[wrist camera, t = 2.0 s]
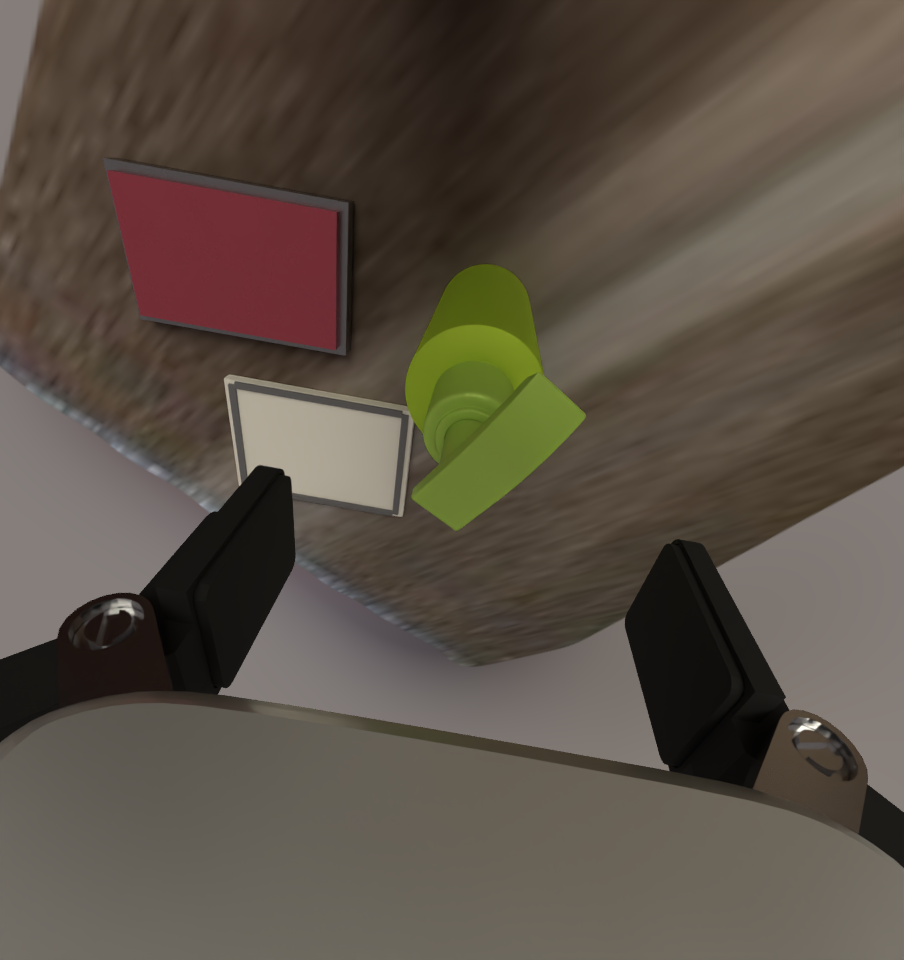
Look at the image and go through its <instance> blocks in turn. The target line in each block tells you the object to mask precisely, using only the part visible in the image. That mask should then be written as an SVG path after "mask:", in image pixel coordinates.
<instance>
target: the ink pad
mask: <svg viewBox="0 0 904 960" xmlns="http://www.w3.org/2000/svg"><path fill="white" fill-rule="evenodd" d="M103 161H104V166H105V170H106V174H107V179H108V183H109V187H110V191H111V196H112V200H113V204H114V208H115V213H116V217H117V221H118V226H119V230H120V234H121V238H122V243H123V247H124V251H125V255H126V260H127V264H128V268H129V272H130V277H131V281H132V285H133V290H134V294H135V298H136V302H137V307H138V311H139V315H140V319H143V320H148V321H154V322H160V323H165V324H171V325H176V326H182V327H188V328H193V329H199V330H204V331H210V332H215V333H221V334H227V335H232V336H238V337H243V338H249V339H255V340H260V341H266V342H271V343H277V344H282V345H288V346H294V347H299V348H305V349H310V350H316V351H322V352H327V353H333V354H338V355H344V356H346V355H347V354H348V352H349V351H350V350H351V310H352V269H353V228H354V201H350V200H344V199H339V198H333V197H328V196H322V195H317V194H311V193H306V192H301V191H295V190H290V189H284V188H279V187H273V186H268V185H262V184H257V183H251V182H246V181H240V180H235V179H229V178H224V177H218V176H213V175H208V174H202V173H197V172H191V171H186V170H180V169H175V168H169V167H164V166H158V165H153V164H147V163H142V162H136V161H131V160H125V159H120V158H103Z"/></svg>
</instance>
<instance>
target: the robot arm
mask: <svg viewBox="0 0 904 960" xmlns="http://www.w3.org/2000/svg"><path fill="white" fill-rule="evenodd" d="M294 562H295V538H294V519H293V501H292V482H291V478H290V476H286V475H285V473H284V470H283V469H280V468H274V467H269V466H263V465H258V466H256V467H255V468H254V470H253V471H252V472H251V473H250V474H249V476H248V477H247V478H246V479H245V480H244V481H243V483H242V484H241V485H240V486H239V487H238V489H237V490H236V491H235V492H234V493H233V495H232V496H231V497H230V498H229V499H228V500H227V502H226V503H225V504H224V505H223V506H222V508H221V509H220V510H219V511H218V512H212V513H210V514H209V515H208V516H207V517H206V518H205V519H204V520H203V521H202V522H201V523H200V524H199V526H198V527H197V528H196V529H195V530H194V532H193V533H192V534H191V535H190V536H189V537H188V538H187V540H186V541H185V542H184V543H183V544H182V545H181V546H180V548H179V549H178V550H177V551H176V552H175V553H174V555H173V556H172V557H171V558H170V559H169V560H168V562H167V563H166V564H165V565H164V566H163V567H162V568H161V570H160V571H159V572H158V573H157V574H156V575H155V577H154V578H153V579H152V580H151V581H150V583H149V584H148V585H147V586H146V587H145V588H144V589H143V590H142V592H141V593H140V594H139V595H137V594H133V593H115V594H110V595H105V596H102V597H99V598H96V599H94V600H91V601H89V602H87V603H86V604H84V605H82V606H81V607H79V608H77V609H76V610H75V611H74V612H73V613H72V614H70V615H69V616H68V617H67V618H66V619H65V621H64V622H63V624H62V625H61V627H60V628H59V632H58V636H57V639H55V640H52V641H49V642H46V643H44V644H41V645H38V646H35V647H33V648H30V649H27V650H25V651H22V652H19V653H17V654H14V655H11V656H9V657H6V658H3V659H0V960H904V812H902V811H901V810H900V809H899V808H897V807H896V806H895V805H893V804H892V803H891V802H889V801H888V800H887V799H886V798H884V797H883V796H882V795H880V794H879V793H878V792H877V791H875V790H874V789H873V788H871V787H870V786H869V785H868V784H867V783H868V774H867V768H866V765H865V763H864V761H863V758H862V756H861V755H860V753H859V752H858V751H857V749H856V748H855V746H854V745H853V744H852V743H851V741H850V740H849V739H847V737H846V736H845V735H844V734H843V733H842V732H841V731H839V730H838V729H837V728H836V727H834V726H833V725H832V724H831V723H829V722H828V721H826V720H824V719H822V718H821V717H819V716H817V715H815V714H812V713H809V712H806V711H803V710H790V711H789V709H788V707H787V705H786V703H785V701H784V699H785V698H786V697H785V695H784V693H783V691H782V689H781V688H780V686H779V684H778V682H777V680H776V678H775V677H774V675H773V673H772V671H771V669H770V667H769V665H768V663H767V662H766V660H765V658H764V656H763V654H762V652H761V651H760V649H759V647H758V645H757V643H756V641H755V639H754V638H753V636H752V634H751V632H750V630H749V629H748V627H747V625H746V623H745V621H744V619H743V617H742V615H741V614H740V612H739V610H738V608H737V606H736V604H735V602H734V601H733V599H732V597H731V595H730V593H729V591H728V590H727V588H726V586H725V584H724V582H723V580H722V578H721V577H720V575H719V573H718V571H717V569H716V567H715V566H714V564H713V562H712V560H711V558H710V556H709V554H708V553H707V551H706V549H705V547H704V546H703V545H702V544H700V543H696V542H691V541H685V540H679V539H677V540H674V541H673V542H672V543H671V544H666V545H665V546H664V547H663V549H662V551H661V553H660V555H659V556H658V558H657V560H656V562H655V564H654V565H653V567H652V569H651V571H650V573H649V574H648V576H647V578H646V580H645V582H644V583H643V585H642V587H641V589H640V591H639V593H638V594H637V596H636V598H635V600H634V602H633V603H632V605H631V607H630V609H629V611H628V612H627V615H626V618H625V629H626V633H627V636H628V640H629V643H630V647H631V651H632V654H633V658H634V662H635V666H636V669H637V673H638V677H639V681H640V684H641V688H642V692H643V695H644V699H645V703H646V707H647V710H648V714H649V718H650V721H651V725H652V728H653V732H654V736H655V740H656V744H657V747H658V751H659V755H660V757H661V760H662V761H663V763H664V764H667V765H668V766H669V770H670V771H665V770H661V769H655V768H650V767H645V766H639V765H633V764H627V763H622V762H617V761H611V760H605V759H600V758H594V757H589V756H583V755H577V754H572V753H566V752H561V751H555V750H549V749H544V748H538V747H532V746H527V745H521V744H515V743H509V742H504V741H498V740H492V739H486V738H481V737H475V736H469V735H463V734H457V733H451V732H446V731H440V730H434V729H428V728H423V727H417V726H411V725H405V724H399V723H393V722H387V721H381V720H376V719H370V718H364V717H358V716H352V715H346V714H340V713H334V712H327V711H322V710H316V709H310V708H304V707H297V706H292V705H285V704H278V703H272V702H264V701H258V700H251V699H245V698H238V697H232V696H225V695H218V693H219V691H220V689H221V687H223V688H228V687H229V686H230V685H231V683H232V682H233V680H234V678H235V676H236V674H237V672H238V671H239V669H240V667H241V665H242V663H243V661H244V659H245V657H246V655H247V654H248V652H249V650H250V648H251V646H252V644H253V642H254V640H255V639H256V636H257V635H258V633H259V631H260V629H261V627H262V625H263V623H264V621H265V620H266V618H267V616H268V614H269V612H270V610H271V608H272V606H273V605H274V603H275V601H276V599H277V597H278V595H279V593H280V592H281V590H282V588H283V586H284V584H285V582H286V580H287V578H288V576H289V575H290V572H291V571H292V569H293V566H294Z"/></svg>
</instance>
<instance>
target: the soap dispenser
mask: <svg viewBox="0 0 904 960" xmlns="http://www.w3.org/2000/svg"><path fill="white" fill-rule="evenodd" d="M405 397H406V403H407V407H408V410H409V412H410V415H411V417H412V419H413V421H414V422H415V424H416V425H417V427H418V428H419V429H420V431H421V432H422V433H423V439H424V443H425V446H426V449H427V451H428V452H429V454H430V456H431V457H432V458H433V459H434V460H435V461H436V462H437V463H438V464H439V465H438V466H437V467H436V468H435V469H434V470H432V471H431V472H430V473H429V474H428V475H427V476H426V477H425V478H424V479H423V480H422V481H420V482H419V483H418V484H417V485H416V486H415V487H414V488H413V492H412V495H411V499H412V500H414V501H415V502H416V503H418V504H419V505H420V506H422V507H423V508H425V509H426V510H427V511H429V512H430V513H432V514H433V515H434V516H436V517H437V518H439V519H440V520H441V521H443V522H444V523H446V524H447V525H448V526H450V527H451V528H453V529H454V530H455V531H458V530H459V529H461V528H462V527H463V526H465V525H466V524H468V523H469V522H470V521H472V520H473V519H474V518H476V517H477V516H478V515H480V514H481V513H482V512H484V511H485V510H486V509H488V508H489V507H490V506H492V505H493V504H494V503H495V502H497V501H498V500H499V499H501V498H502V497H503V496H504V495H506V494H507V493H508V492H509V491H511V490H512V489H513V488H514V487H516V486H517V485H518V484H519V483H520V482H521V481H523V480H524V479H525V478H526V477H527V476H528V475H529V474H531V473H532V472H533V471H534V470H535V469H536V468H537V467H538V466H539V465H540V464H542V463H543V462H544V461H545V460H546V459H547V458H548V457H549V456H550V455H551V454H552V453H553V452H554V451H555V450H556V449H557V448H558V447H559V446H560V445H561V444H562V443H563V442H564V441H565V440H566V439H567V438H568V437H569V436H570V435H571V433H572V432H573V431H574V430H575V429H576V428H577V427H578V426H579V425H580V424H581V423H582V422H583V421H584V419H585V418H586V414H585V413H584V412H583V411H582V410H581V409H580V408H579V407H578V406H576V405H575V404H574V403H573V402H572V401H571V400H570V399H569V398H568V397H567V396H566V395H565V394H564V393H563V392H562V391H561V390H559V389H558V388H557V387H556V386H555V385H554V384H553V383H552V382H551V381H550V380H548V379H547V378H546V377H545V376H544V372H543V367H542V362H541V357H540V352H539V347H538V342H537V337H536V331H535V326H534V321H533V316H532V311H531V306H530V301H529V297H528V294H527V291H526V289H525V287H524V286H523V284H522V282H521V281H520V280H519V279H518V278H517V277H516V276H515V275H514V274H513V273H512V272H510V271H509V270H507V269H505V268H503V267H500V266H497V265H492V264H480V265H475V266H471V267H469V268H466V269H464V270H463V271H461V272H460V273H458V274H457V275H456V276H455V277H454V278H453V279H452V280H451V281H450V282H449V284H448V285H447V287H446V288H445V290H444V292H443V295H442V297H441V299H440V301H439V303H438V305H437V308H436V310H435V312H434V314H433V316H432V318H431V320H430V323H429V325H428V327H427V329H426V331H425V333H424V336H423V338H422V340H421V342H420V344H419V346H418V349H417V351H416V353H415V355H414V357H413V359H412V361H411V364H410V366H409V369H408V372H407V376H406V381H405Z"/></svg>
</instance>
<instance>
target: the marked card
mask: <svg viewBox="0 0 904 960" xmlns="http://www.w3.org/2000/svg"><path fill="white" fill-rule="evenodd" d="M224 383H225V390H226V397H227V404H228V411H229V419H230V426H231V433H232V440H233V447H234V454H235V461H236V468H237V475H238V482H239V486H240V485H241V484H242V483H243V481H244V480H245V479H246V478H247V477H248V476H249V474H250V473H251V472H252V471H253V470H254V468H255V467H256V466H258V465H263V466H269V467H274V468H280V469H283V470H284V473H285V475H286V476H290V478H291V482H292V499H296V500H301V501H307V502H313V503H318V504H324V505H330V506H336V507H341V508H347V509H353V510H358V511H364V512H370V513H375V514H381V515H387V516H392V515H393V516H399V517H402V516H403V513H404V506H405V497H406V489H407V480H408V471H409V463H410V454H411V446H412V437H413V428H414V421H413V419H412V417H411V415H410V412H409V410H408V407H407V406H404V405H399V404H393V403H387V402H382V401H376V400H371V399H365V398H359V397H354V396H348V395H342V394H337V393H331V392H326V391H320V390H314V389H309V388H303V387H298V386H292V385H286V384H281V383H275V382H270V381H264V380H258V379H253V378H247V377H241V376H236V375H230V374H229V375H228V376H226V377H225V378H224Z"/></svg>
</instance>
